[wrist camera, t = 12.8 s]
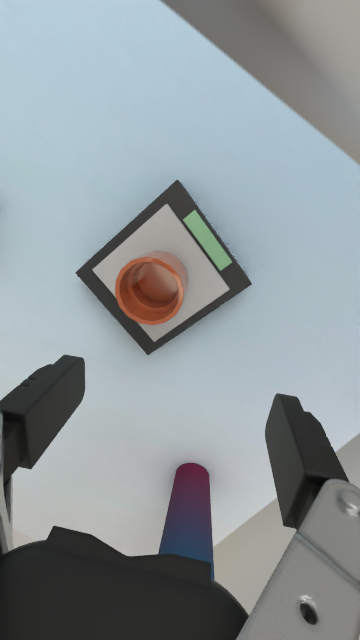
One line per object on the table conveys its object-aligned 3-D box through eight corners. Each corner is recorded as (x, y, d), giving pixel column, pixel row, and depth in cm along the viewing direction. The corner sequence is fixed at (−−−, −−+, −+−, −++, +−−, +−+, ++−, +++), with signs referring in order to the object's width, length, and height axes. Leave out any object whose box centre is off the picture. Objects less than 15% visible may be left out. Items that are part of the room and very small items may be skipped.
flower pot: (163, 237, 25) (152, 242, 21) (200, 285, 27) (197, 299, 22) (120, 274, 27) (101, 285, 23) (156, 317, 28) (145, 337, 24)
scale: (180, 182, 26) (176, 178, 24) (249, 278, 29) (252, 285, 26) (85, 268, 31) (72, 273, 28) (152, 346, 33) (146, 357, 30)
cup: (180, 451, 39) (162, 582, 25) (223, 470, 39) (228, 609, 25) (163, 480, 41) (137, 614, 27) (203, 497, 42) (197, 638, 28)
